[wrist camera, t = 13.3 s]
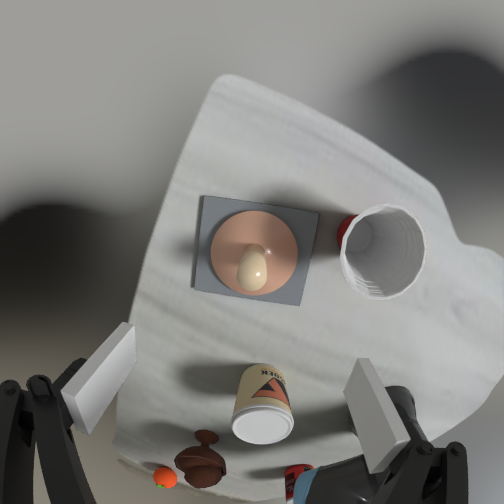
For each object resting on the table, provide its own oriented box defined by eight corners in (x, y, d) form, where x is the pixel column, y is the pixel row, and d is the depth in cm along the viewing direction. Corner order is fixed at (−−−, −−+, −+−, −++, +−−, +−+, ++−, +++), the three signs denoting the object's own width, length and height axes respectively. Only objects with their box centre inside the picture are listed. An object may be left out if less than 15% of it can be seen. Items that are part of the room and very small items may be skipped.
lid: (303, 217, 37) (318, 229, 27) (288, 298, 40) (295, 332, 30) (217, 204, 37) (201, 211, 27) (207, 285, 40) (192, 316, 30)
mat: (317, 213, 37) (319, 213, 37) (299, 303, 41) (299, 306, 40) (205, 195, 37) (204, 195, 37) (195, 288, 41) (194, 289, 40)
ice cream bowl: (175, 423, 49) (158, 475, 35) (222, 421, 48) (212, 477, 34) (193, 449, 52) (182, 496, 37) (237, 447, 51) (232, 498, 36)
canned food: (316, 471, 54) (320, 502, 43) (288, 477, 54) (290, 508, 44) (311, 461, 52) (316, 494, 41) (281, 467, 53) (282, 500, 42)
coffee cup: (299, 376, 44) (307, 425, 33) (264, 403, 46) (264, 451, 35) (259, 350, 43) (258, 400, 32) (225, 381, 45) (217, 429, 34)
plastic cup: (351, 181, 36) (387, 181, 25) (398, 230, 38) (441, 248, 26) (303, 238, 38) (320, 261, 27) (353, 282, 40) (383, 318, 28)
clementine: (169, 476, 57) (164, 493, 50) (150, 466, 56) (144, 483, 49) (183, 472, 56) (179, 490, 49) (164, 461, 54) (158, 480, 48)
